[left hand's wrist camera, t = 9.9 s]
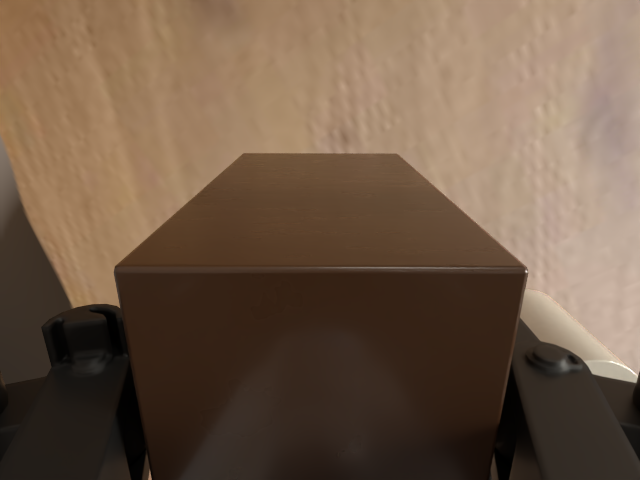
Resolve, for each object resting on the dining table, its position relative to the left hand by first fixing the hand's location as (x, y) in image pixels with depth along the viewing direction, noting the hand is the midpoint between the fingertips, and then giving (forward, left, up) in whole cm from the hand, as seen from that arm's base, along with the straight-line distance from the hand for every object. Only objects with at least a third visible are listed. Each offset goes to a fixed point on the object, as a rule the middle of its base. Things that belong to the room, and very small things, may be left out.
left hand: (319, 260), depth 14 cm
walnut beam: (+10, 0, -1) cm, 10 cm away
